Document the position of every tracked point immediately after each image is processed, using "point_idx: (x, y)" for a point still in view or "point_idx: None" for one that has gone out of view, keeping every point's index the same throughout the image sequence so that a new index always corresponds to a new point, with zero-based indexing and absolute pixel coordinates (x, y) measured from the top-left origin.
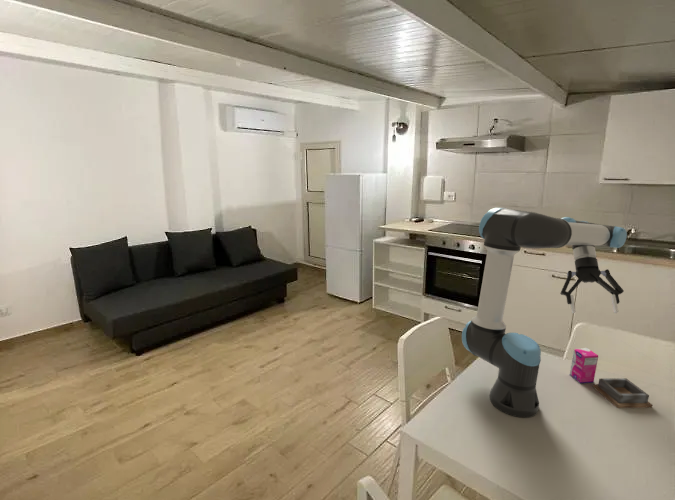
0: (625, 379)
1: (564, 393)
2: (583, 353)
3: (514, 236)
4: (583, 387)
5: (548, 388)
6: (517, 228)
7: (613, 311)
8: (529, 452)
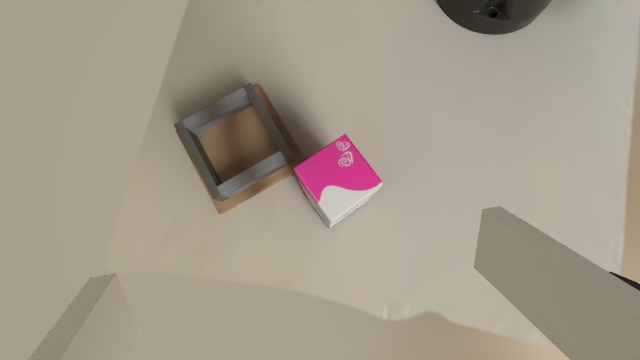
0: (217, 189)
1: (379, 89)
2: (348, 156)
3: None
4: None
5: (418, 93)
6: None
7: (135, 348)
8: None
